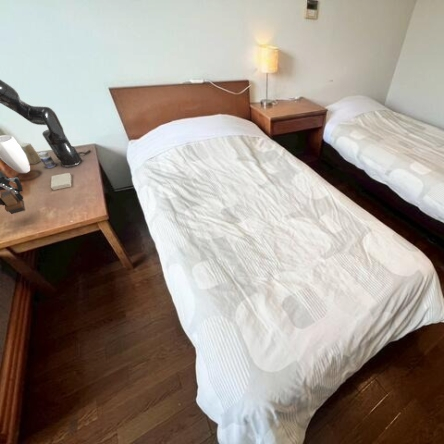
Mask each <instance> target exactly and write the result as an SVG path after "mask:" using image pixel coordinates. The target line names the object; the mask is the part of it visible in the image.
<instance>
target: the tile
mask: <svg viewBox="0 0 444 444" xmlns="http://www.w3.org/2000/svg"><path fill="white" fill-rule="evenodd" d="M50 180H51V181H50V188H51V189H52V191H56V190H61V189H65V188H70V187H71V188H72V175H71V173H70V172H67V173H60V174H55V175H51V179H50Z"/></svg>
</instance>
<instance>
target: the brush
mask: <svg viewBox="0 0 444 444" xmlns="http://www.w3.org/2000/svg"><path fill="white" fill-rule="evenodd" d="M0 198H1V199H2V200H3V201H4V203H5V205H4V210H5V211H6V212H7V213H9V214H10V215H15V214H18V213H22V212H24V211H26V207H25V201H24V200H23V201H20V200H19V199H18V198H17V197H16V195H15V194H14V193H13V192H11V191H8V190H6V189H5V190H1V191H0Z"/></svg>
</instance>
